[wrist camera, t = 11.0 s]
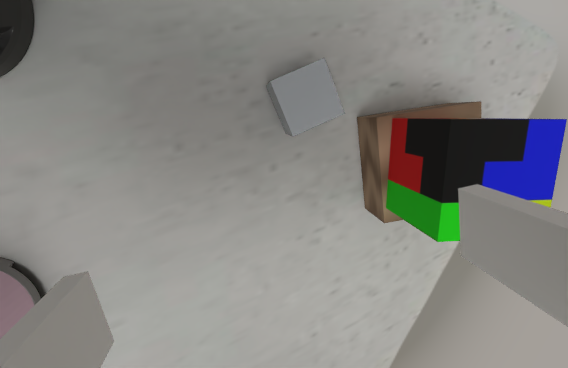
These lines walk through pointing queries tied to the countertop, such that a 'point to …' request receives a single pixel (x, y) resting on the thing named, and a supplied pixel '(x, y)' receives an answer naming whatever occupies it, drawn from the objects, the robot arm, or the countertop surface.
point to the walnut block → (377, 149)
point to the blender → (14, 296)
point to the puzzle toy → (467, 165)
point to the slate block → (305, 98)
